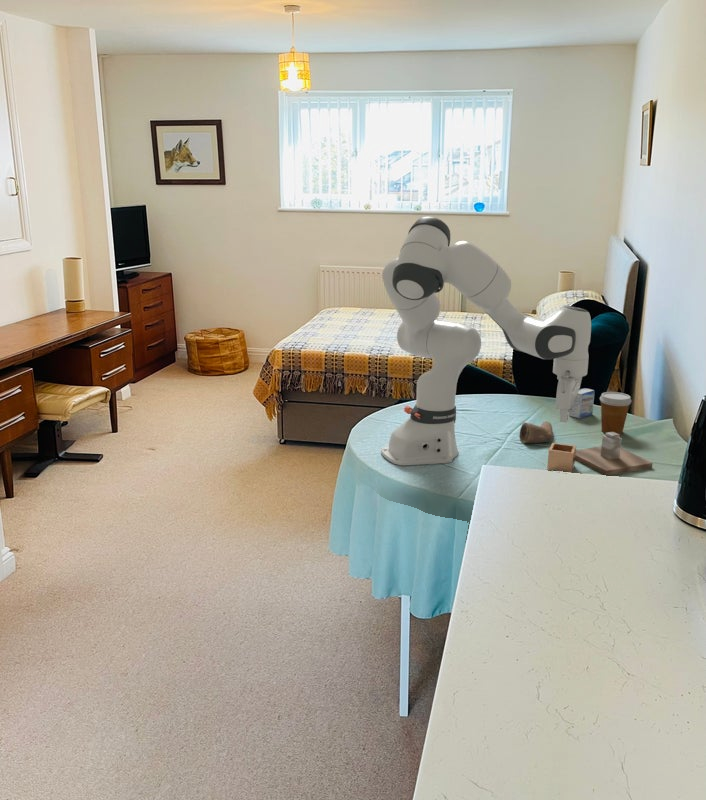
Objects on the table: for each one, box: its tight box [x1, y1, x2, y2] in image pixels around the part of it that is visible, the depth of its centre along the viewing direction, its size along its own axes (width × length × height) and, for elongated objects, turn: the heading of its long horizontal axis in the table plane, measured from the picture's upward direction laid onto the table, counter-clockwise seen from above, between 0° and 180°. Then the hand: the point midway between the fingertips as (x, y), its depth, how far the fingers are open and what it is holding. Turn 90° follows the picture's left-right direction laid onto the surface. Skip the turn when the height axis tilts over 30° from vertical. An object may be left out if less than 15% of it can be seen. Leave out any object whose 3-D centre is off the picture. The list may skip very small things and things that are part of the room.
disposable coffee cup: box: [599, 391, 632, 435], centre depth 234 cm, size 10×10×12 cm
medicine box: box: [568, 387, 595, 419], centre depth 251 cm, size 8×4×9 cm, turn 129°
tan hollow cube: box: [546, 442, 577, 473], centre depth 204 cm, size 6×6×6 cm
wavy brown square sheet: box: [575, 432, 653, 476], centre depth 209 cm, size 16×16×8 cm
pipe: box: [518, 421, 554, 445], centre depth 229 cm, size 6×17×10 cm
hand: (566, 416), depth 200 cm, fingers open, 8 cm apart
